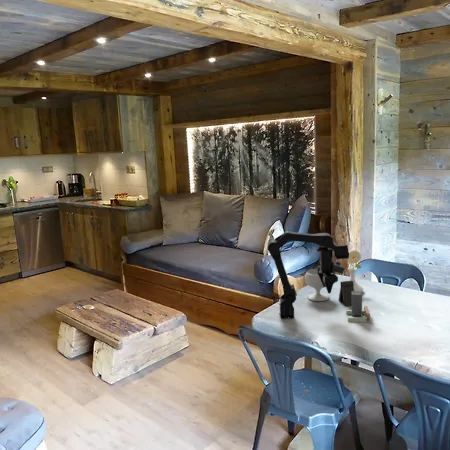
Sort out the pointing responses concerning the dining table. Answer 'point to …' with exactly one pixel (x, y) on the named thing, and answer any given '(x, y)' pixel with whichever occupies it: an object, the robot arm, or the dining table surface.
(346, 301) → the phone stand
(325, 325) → the dining table surface
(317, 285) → the chalice
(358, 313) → the block
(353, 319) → the keeper
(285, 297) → the robot arm
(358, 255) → the flower in vase
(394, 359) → the dining table surface
